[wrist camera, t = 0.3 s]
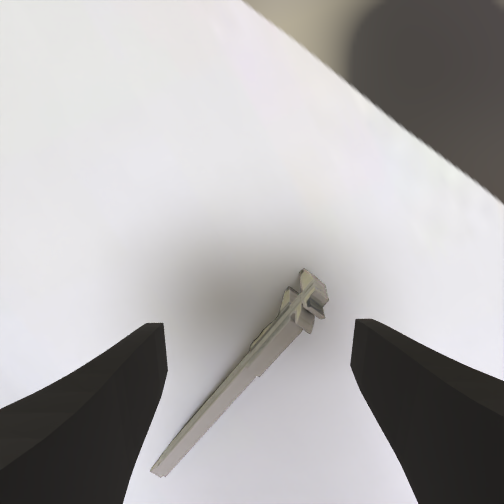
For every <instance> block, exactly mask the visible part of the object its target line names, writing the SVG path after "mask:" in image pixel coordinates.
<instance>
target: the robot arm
mask: <svg viewBox="0 0 504 504" xmlns="http://www.w3.org/2000/svg"><path fill="white" fill-rule="evenodd" d="M350 366H351V368H352V371H353V374H354V376H355V379H356V381H357V384H358V386H359V389H360V391H361V393H362V395H363V397H364V398H365V400H366V402H367V404H368V406H369V408H370V409H371V411H372V413H373V415H374V417H375V418H376V420H377V422H378V424H379V425H380V427H381V429H382V431H383V433H384V434H385V436H386V438H387V440H388V441H389V443H390V445H391V447H392V449H393V450H394V452H395V454H396V456H397V458H398V460H399V462H400V464H401V466H402V468H403V470H404V472H405V475H406V477H407V479H408V481H409V484H410V486H411V488H412V490H413V492H414V495H415V497H416V499H417V501H418V504H504V381H503V380H500V379H497V378H495V377H492V376H490V375H488V374H485V373H483V372H480V371H478V370H475V369H473V368H471V367H468V366H466V365H464V364H461V363H459V362H457V361H455V360H453V359H451V358H449V357H447V356H444V355H442V354H440V353H438V352H436V351H434V350H432V349H430V348H428V347H426V346H424V345H422V344H420V343H418V342H417V341H415V340H413V339H411V338H409V337H407V336H405V335H403V334H401V333H400V332H398V331H396V330H394V329H392V328H390V327H388V326H386V325H384V324H382V323H380V322H378V321H376V320H373V319H356V320H355V329H354V338H353V347H352V355H351V364H350ZM167 372H168V367H167V356H166V346H165V335H164V325H163V323H146V324H144V325H143V326H141V327H140V328H138V329H137V330H135V331H134V332H132V333H131V334H130V335H128V336H127V337H125V338H124V339H122V340H121V341H120V342H118V343H117V344H115V345H114V346H112V347H111V348H110V349H108V350H107V351H105V352H104V353H102V354H101V355H99V356H97V357H96V358H94V359H93V360H91V361H90V362H88V363H87V364H85V365H83V366H82V367H80V368H79V369H77V370H75V371H74V372H72V373H70V374H69V375H67V376H65V377H63V378H62V379H60V380H58V381H56V382H54V383H52V384H51V385H49V386H47V387H45V388H43V389H41V390H39V391H37V392H35V393H33V394H31V395H29V396H27V397H25V398H23V399H21V400H18V401H16V402H14V403H12V404H10V405H8V406H6V407H4V408H1V409H0V504H123V501H124V497H125V494H126V491H127V487H128V484H129V480H130V477H131V474H132V471H133V469H134V466H135V463H136V460H137V458H138V455H139V452H140V450H141V447H142V445H143V442H144V440H145V437H146V435H147V432H148V430H149V427H150V424H151V422H152V419H153V417H154V414H155V412H156V409H157V406H158V404H159V401H160V398H161V395H162V392H163V388H164V384H165V380H166V376H167Z"/></svg>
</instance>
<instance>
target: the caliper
mask: <svg viewBox="0 0 504 504" xmlns="http://www.w3.org/2000/svg"><path fill="white" fill-rule="evenodd" d="M299 274H300V285H301V293H300V294H299V293H297V292H296V291H295V290H293V289H292V288H291V287H288V288H287V289H286V291H285V293H284V296H283V300H282V304H281V307H280V311H279V315H278V316H277V318H276V319H275V320H274V321H273V322H271V323H270V324H269V325H268V326H267V327H266V328H265V329H264V330H263V331H262V332H261V334H260V335H259V336H258V337H257V338H256V339H255V340H254V341H253V342H252V344H251V346H250V350H249V353H248V354H247V355H246V356H245V357H244V358H243V360H242V361H241V362H240V363H239V364H238V365H237V367H236V368H235V369H234V370H233V371H232V372H231V374H230V375H229V376H228V377H227V378H226V379H225V380H224V382H223V383H222V384H221V385H220V386H219V387H218V389H217V390H216V391H215V392H214V393H213V394H212V396H211V397H210V398H209V399H208V400H207V401H206V403H205V404H204V405H203V406H202V407H201V408H200V409H199V411H198V412H197V413H196V414H195V415H194V416H193V417H192V419H191V420H190V421H189V422H188V423H187V424H186V426H185V427H184V428H183V429H182V430H181V431H180V432H179V434H178V435H177V436H176V437H175V438H174V439H173V441H172V442H171V443H170V444H169V446H168V447H167V448H166V450H165V451H164V452H163V454H162V455H161V456H160V458H159V460H158V461H157V462H156V463H155V464H154V466H153V467H152V468H151V470H150V472H152V473H153V474H155V475H157V476H158V477H160V478H161V477H162V476H165V477H166V476H167V475H168V474H169V472H170V471H171V470H172V469H173V468H174V467H175V466H176V465H177V464H178V463H179V461H180V460H181V459H182V458H183V457H184V456H185V455H186V454H187V453H188V452H189V450H190V449H191V448H192V447H193V446H194V445H195V444H196V443H197V442H198V440H199V439H200V438H201V437H202V436H203V435H204V434H205V433H206V432H207V431H208V429H209V428H210V427H211V426H212V425H213V424H214V423H215V422H216V421H217V419H218V418H219V417H220V416H221V415H222V414H223V413H224V412H225V411H226V409H227V408H228V407H229V406H230V405H231V404H232V403H233V402H234V401H235V400H236V398H237V397H238V396H239V395H240V394H241V393H242V392H243V391H244V390H245V388H246V387H247V386H248V385H249V384H250V383H251V382H252V381H253V380H254V378H255V377H256V376H258V377H260V376H261V375H262V374H263V373H264V372H265V371H266V369H267V368H268V367H269V366H270V365H271V364H272V363H273V362H274V361H275V360H276V359H277V358H278V356H279V355H280V354H281V353H282V352H283V351H284V350H285V349H286V348H287V347H288V346H289V345H290V343H291V342H292V341H293V340H294V339H295V338H296V337H297V336H298V335H299V334H300V333H301V331H302V330H305V331H306V332H307V333H309V334H310V333H311V331H312V328H313V324H314V315H315V316H316V317H318V318H319V319H324V318H325V316H324V312H323V306H324V305H325V304H326V303H327V302H328V301H329V299H328V295H327V291H326V287H325V284H324V283H322V282H321V281H320V280H319V279H318V278H316V277H315V276H314V275H312V274H311V273H310V272H308V271H307V270H305V269H303V270H301V271H300V272H299Z"/></svg>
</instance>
